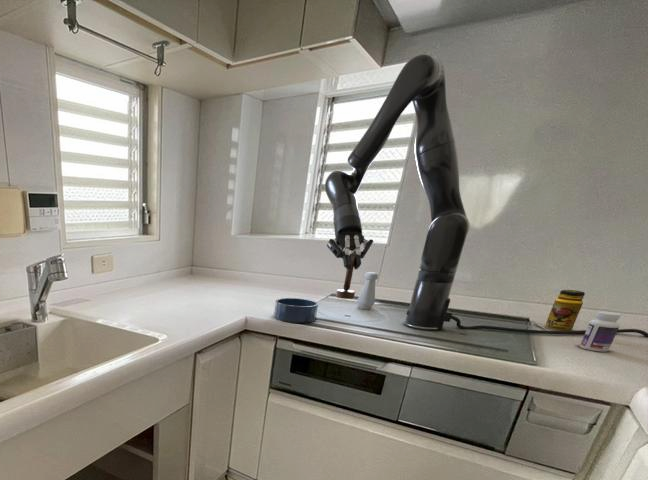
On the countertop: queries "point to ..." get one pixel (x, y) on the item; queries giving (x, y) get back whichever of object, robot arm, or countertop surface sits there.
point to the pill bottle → (601, 332)
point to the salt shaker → (368, 291)
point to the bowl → (295, 310)
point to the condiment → (564, 311)
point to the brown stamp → (347, 282)
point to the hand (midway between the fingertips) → (353, 267)
